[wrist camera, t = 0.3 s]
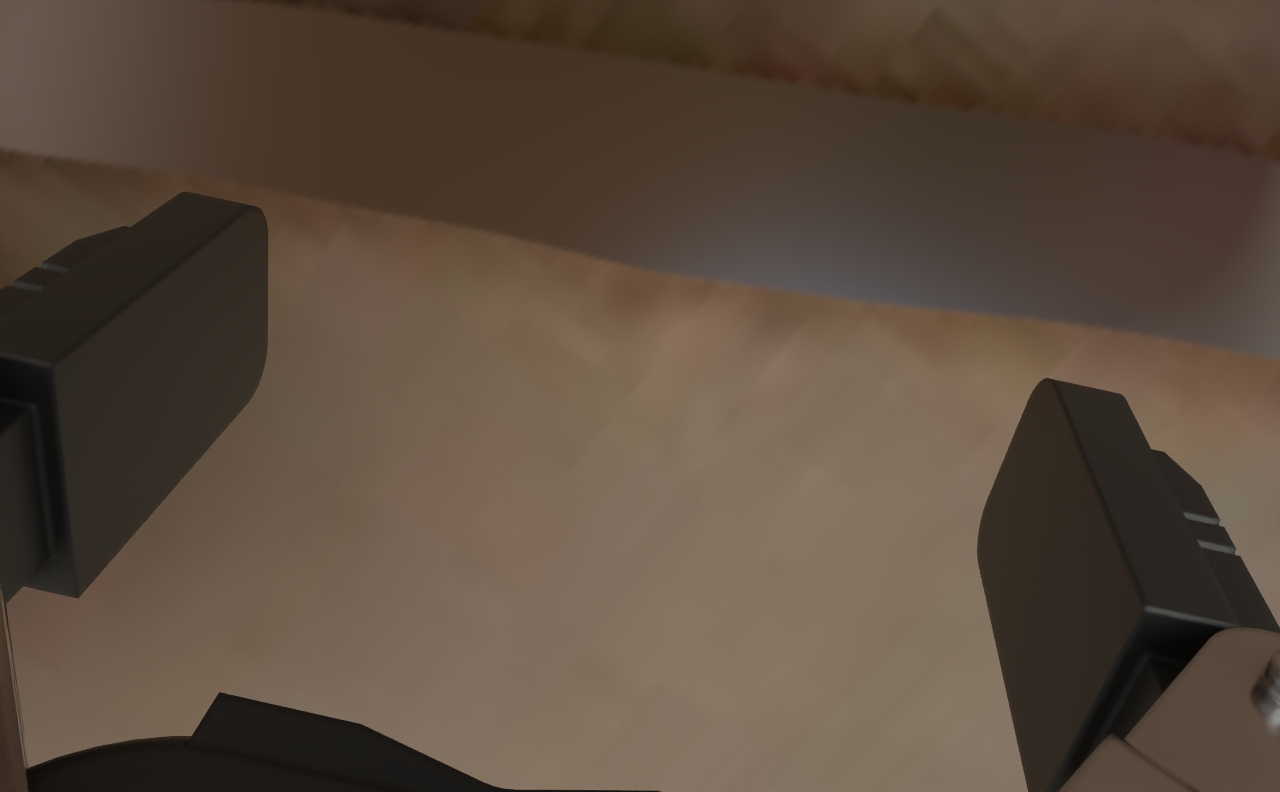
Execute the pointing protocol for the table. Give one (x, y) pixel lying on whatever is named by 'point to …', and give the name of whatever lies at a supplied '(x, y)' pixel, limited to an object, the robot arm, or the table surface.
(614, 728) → the table surface
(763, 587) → the table surface
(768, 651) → the table surface
